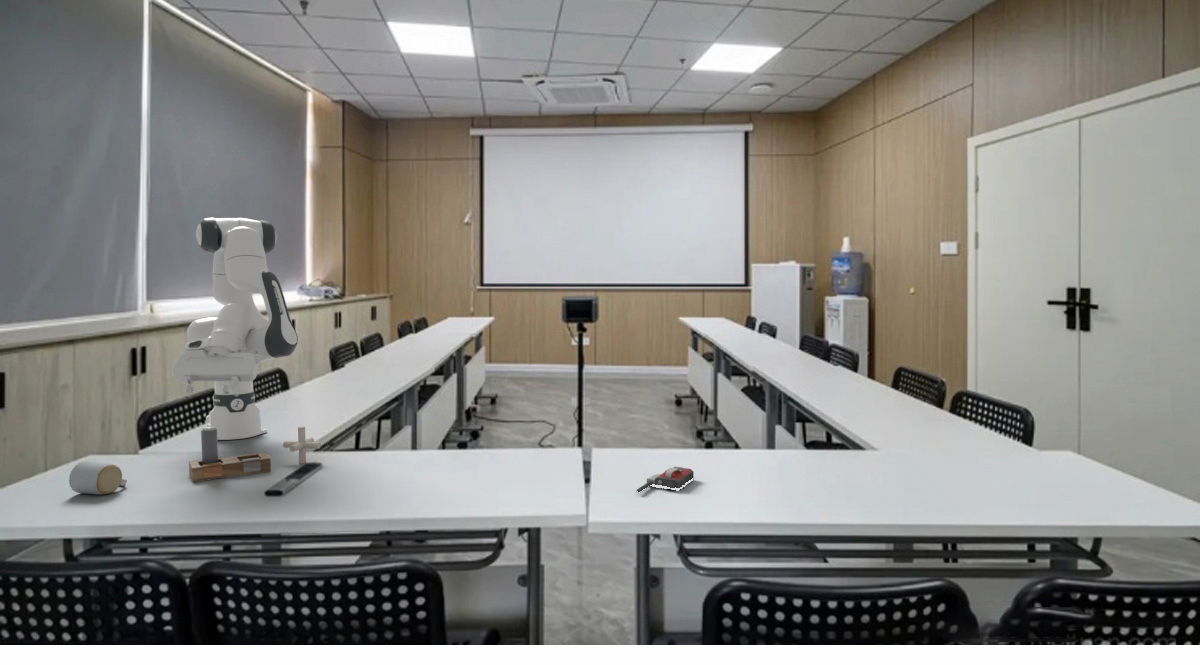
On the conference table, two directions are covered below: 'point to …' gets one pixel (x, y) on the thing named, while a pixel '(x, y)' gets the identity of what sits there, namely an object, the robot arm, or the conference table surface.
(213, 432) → the tall grey block
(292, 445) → the pipe connector
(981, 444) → the conference table surface
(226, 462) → the socket strip
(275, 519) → the conference table surface
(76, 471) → the ceramic mug
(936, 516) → the conference table surface
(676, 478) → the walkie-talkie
